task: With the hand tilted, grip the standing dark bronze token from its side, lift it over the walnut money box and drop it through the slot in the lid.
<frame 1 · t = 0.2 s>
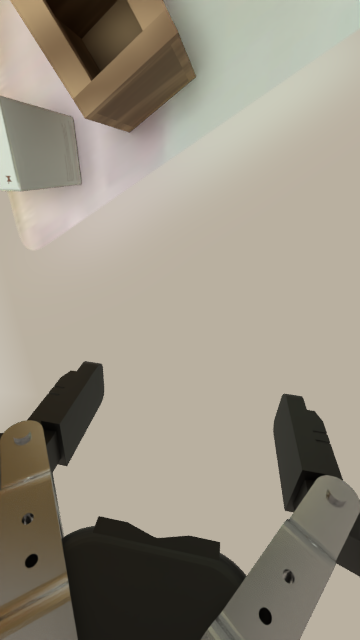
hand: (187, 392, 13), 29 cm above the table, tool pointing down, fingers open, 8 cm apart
coin box: (134, 57, 31), on the table
supplement box: (51, 151, 37), on the table
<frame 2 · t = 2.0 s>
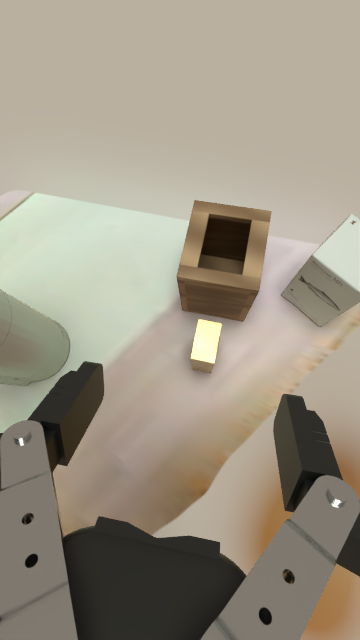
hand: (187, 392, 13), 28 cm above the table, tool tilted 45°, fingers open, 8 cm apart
coin box: (218, 284, 45), on the table
token: (204, 355, 42), on the table
supplement box: (314, 295, 44), on the table
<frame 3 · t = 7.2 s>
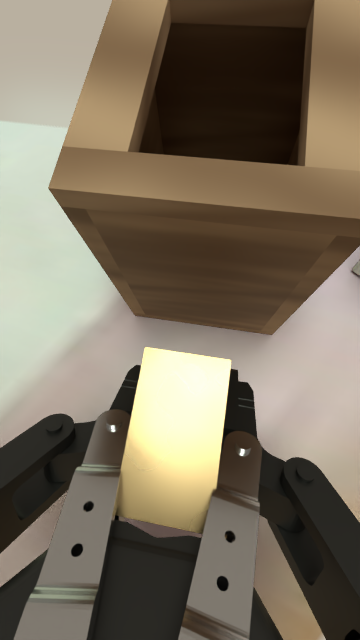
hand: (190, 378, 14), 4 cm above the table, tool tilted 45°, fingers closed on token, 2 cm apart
coin box: (211, 256, 21), on the table
token: (187, 420, 18), on the table, touching gripper
when the fingers open (18 cm above the table, at t = 10.9 s): token drops 13 cm, resting on coin box.
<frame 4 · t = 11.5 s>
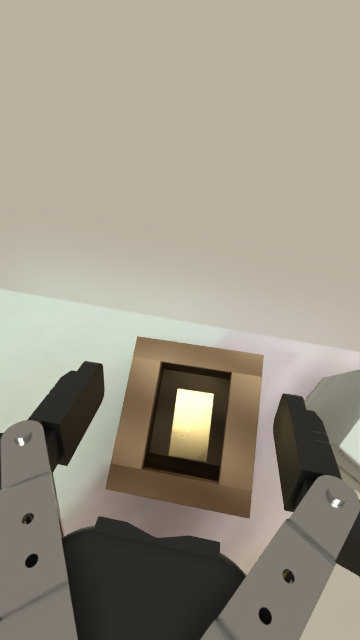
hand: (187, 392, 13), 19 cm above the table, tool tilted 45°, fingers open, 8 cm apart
coin box: (191, 415, 31), on the table
token: (193, 416, 31), point 1 cm above the table, touching coin box
supplement box: (331, 428, 30), on the table
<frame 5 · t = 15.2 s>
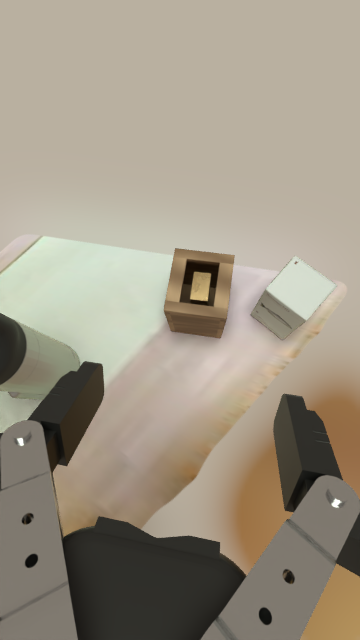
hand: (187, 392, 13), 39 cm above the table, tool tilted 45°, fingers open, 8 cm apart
coin box: (199, 308, 55), on the table
token: (200, 307, 54), point 1 cm above the table, touching coin box
supplement box: (277, 314, 54), on the table
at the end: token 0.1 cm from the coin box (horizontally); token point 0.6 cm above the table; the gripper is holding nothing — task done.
